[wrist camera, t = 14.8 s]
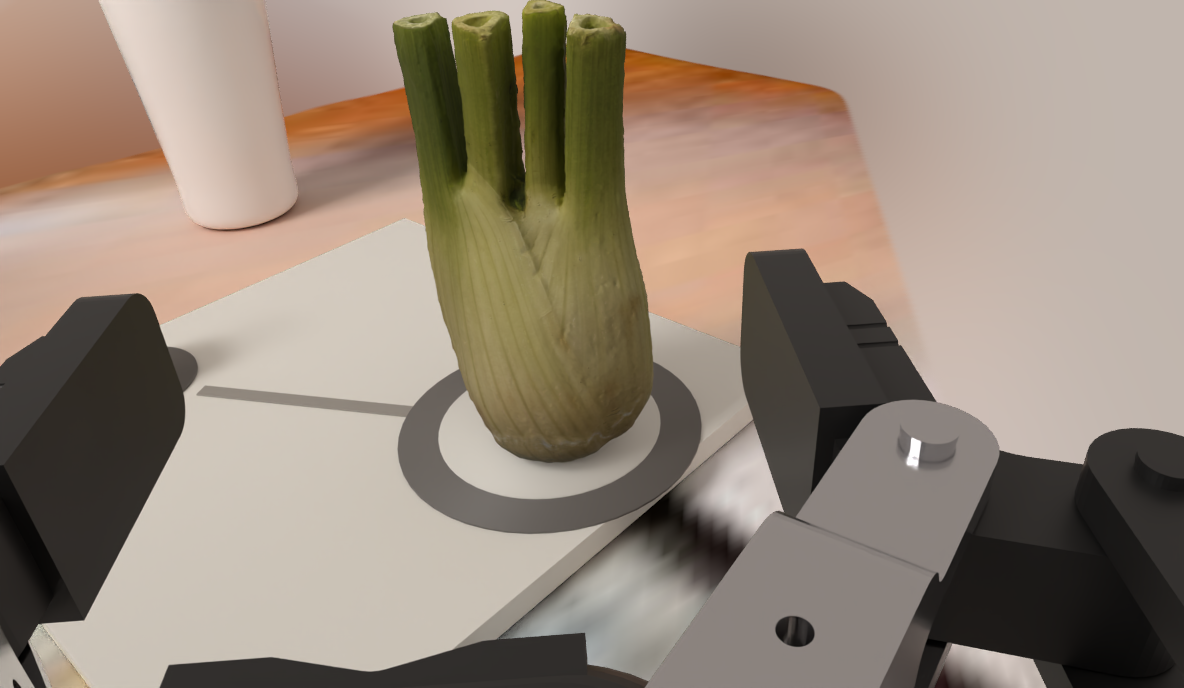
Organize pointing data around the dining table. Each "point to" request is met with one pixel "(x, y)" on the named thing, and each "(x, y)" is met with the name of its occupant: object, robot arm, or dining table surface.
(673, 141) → the dining table surface
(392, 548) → the gauge board
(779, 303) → the robot arm
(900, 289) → the dining table surface
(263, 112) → the drinking glass
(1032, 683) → the dining table surface
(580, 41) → the fennel bulb
